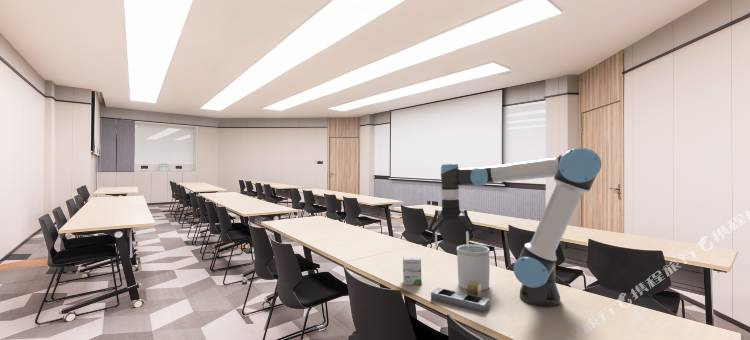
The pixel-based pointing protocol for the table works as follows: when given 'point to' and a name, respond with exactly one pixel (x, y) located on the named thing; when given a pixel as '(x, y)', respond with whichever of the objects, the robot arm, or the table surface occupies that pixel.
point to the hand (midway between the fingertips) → (451, 247)
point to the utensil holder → (473, 265)
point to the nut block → (474, 288)
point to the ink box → (412, 271)
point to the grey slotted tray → (461, 299)
